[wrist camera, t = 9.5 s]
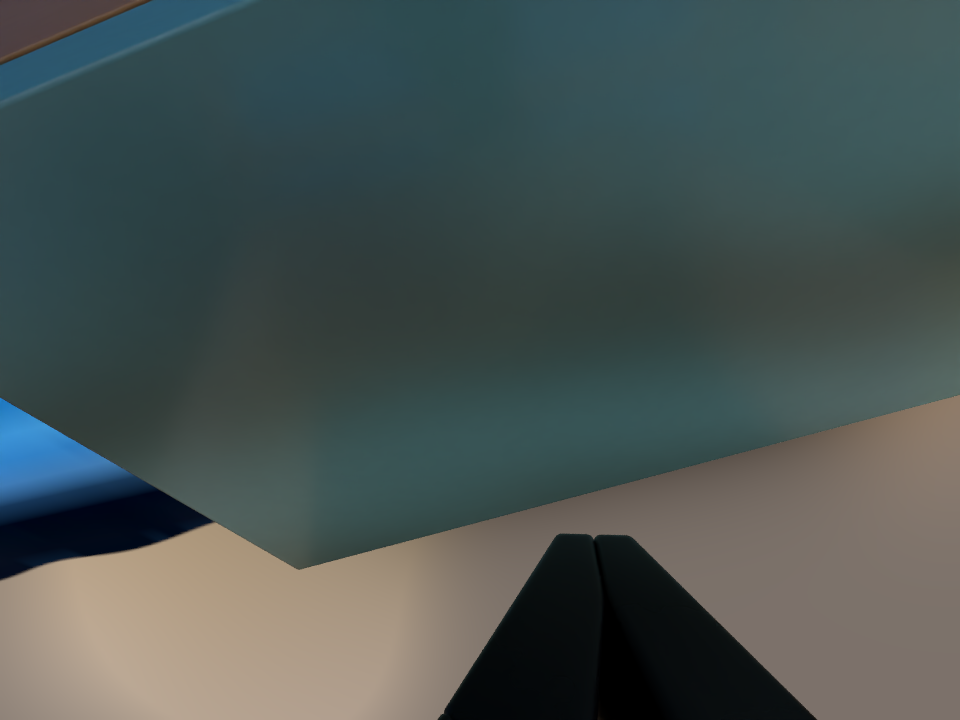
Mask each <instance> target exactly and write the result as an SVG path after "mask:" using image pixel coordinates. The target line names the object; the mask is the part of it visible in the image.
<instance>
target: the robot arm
mask: <svg viewBox="0 0 960 720" xmlns="http://www.w3.org/2000/svg"><path fill="white" fill-rule="evenodd" d="M438 720H817V719H816V718H815V717H814V716H813V715H812V714H810V712H809V711H808V710H807V709H806V708H805V707H804V706H803V705H802V704H801V703H800V702H799V701H798V700H797V699H796V698H795V697H794V696H793V695H792V694H791V693H790V692H788V691H787V689H786V688H784V687H783V686H782V685H781V684H780V683H779V682H778V681H777V680H776V679H775V678H774V677H773V676H772V675H771V674H770V673H769V672H768V671H767V670H766V669H765V668H764V667H763V666H762V665H761V664H760V663H759V662H758V661H757V660H756V659H755V658H754V657H753V656H752V655H751V654H750V653H749V652H748V651H747V650H746V649H745V648H744V647H743V646H742V645H741V644H740V643H739V642H738V641H737V640H736V639H735V638H734V637H732V635H731V634H730V633H729V632H728V631H727V630H726V629H724V627H722V626H721V624H720V623H718V622H717V621H716V620H715V619H714V618H713V617H712V616H711V615H710V614H709V613H708V612H707V611H706V610H705V609H704V608H703V607H702V606H701V605H700V604H699V603H698V602H697V601H696V600H695V599H694V598H693V597H692V596H691V595H690V594H689V593H688V592H687V591H686V590H685V589H684V588H683V587H682V586H681V585H680V584H679V583H678V582H677V581H676V580H675V579H674V578H673V577H672V576H671V575H670V574H669V573H668V572H667V571H666V570H664V568H663V567H662V566H661V565H660V564H658V562H657V561H656V560H654V559H653V557H651V556H650V555H649V554H648V553H647V552H646V551H645V550H644V549H643V548H642V547H641V546H640V545H639V544H638V543H637V542H636V541H635V540H634V539H633V538H632V537H630V536H627V535H598V536H596V537H595V539H593V538H592V537H591V536H590V535H587V534H559V535H557V536H556V537H555V538H554V540H553V541H552V543H551V545H550V546H549V547H548V549H547V551H546V552H545V554H544V555H543V557H542V558H541V560H540V562H539V563H538V565H537V566H536V568H535V569H534V571H533V572H532V574H531V576H530V577H529V579H528V580H527V582H526V584H525V585H524V587H523V588H522V590H521V591H520V593H519V595H518V596H517V597H516V599H515V601H514V602H513V604H512V605H511V607H510V608H509V610H508V611H507V613H506V615H505V616H504V618H503V619H502V621H501V623H500V624H499V626H498V627H497V629H496V630H495V632H494V634H493V635H492V636H491V638H490V640H489V641H488V643H487V645H486V646H485V647H484V649H483V650H482V652H481V654H480V655H479V657H478V658H477V660H476V661H475V663H474V664H473V666H472V668H471V669H470V671H469V673H468V674H467V675H466V677H465V679H464V680H463V682H462V683H461V685H460V687H459V688H458V690H457V691H456V693H455V694H454V696H453V697H452V699H451V700H450V702H449V703H448V705H447V707H446V708H445V710H444V714H442V715H441V716H440V717H439V718H438Z"/></svg>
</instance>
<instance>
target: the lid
mask: <svg viewBox="0 0 960 720" xmlns="http://www.w3.org/2000/svg"><path fill="white" fill-rule="evenodd" d="M957 395H960V0H152V1H150V2H148V3H145V4H143V5H141V6H138V7H136V8H134V9H131V10H129V11H126V12H124V13H122V14H119V15H117V16H115V17H112V18H110V19H108V20H105V21H103V22H101V23H98V24H96V25H94V26H91V27H89V28H87V29H84V30H82V31H80V32H77V33H75V34H73V35H70V36H68V37H65V38H63V39H61V40H58V41H56V42H54V43H51V44H49V45H47V46H44V47H42V48H40V49H37V50H35V51H33V52H30V53H28V54H26V55H23V56H21V57H19V58H16V59H14V60H11V61H9V62H7V63H4V64H2V65H0V398H2V399H4V400H5V401H7V402H9V403H11V404H12V405H14V406H16V407H17V408H19V409H21V410H23V411H24V412H26V413H28V414H30V415H31V416H33V417H35V418H36V419H38V420H40V421H42V422H43V423H45V424H47V425H49V426H50V427H52V428H54V429H55V430H57V431H59V432H61V433H62V434H64V435H66V436H68V437H69V438H71V439H73V440H75V441H76V442H78V443H80V444H81V445H83V446H85V447H87V448H88V449H90V450H92V451H94V452H95V453H97V454H99V455H100V456H102V457H104V458H106V459H107V460H109V461H111V462H113V463H114V464H116V465H118V466H119V467H121V468H123V469H125V470H126V471H128V472H130V473H132V474H133V475H135V476H137V477H139V478H140V479H142V480H144V481H145V482H147V483H149V484H151V485H152V486H154V487H156V488H158V489H159V490H161V491H163V492H164V493H166V494H168V495H170V496H171V497H173V498H175V499H177V500H178V501H180V502H182V503H183V504H185V505H187V506H189V507H190V508H192V509H194V510H196V511H197V512H199V513H201V514H203V515H204V516H206V517H208V518H209V519H211V520H213V521H215V522H216V523H218V524H220V525H222V526H223V527H225V528H227V529H228V530H230V531H232V532H234V533H235V534H237V535H239V536H241V537H242V538H244V539H246V540H247V541H249V542H251V543H253V544H254V545H256V546H258V547H260V548H261V549H263V550H265V551H267V552H268V553H270V554H272V555H273V556H275V557H277V558H279V559H280V560H282V561H284V562H286V563H287V564H289V565H291V566H293V567H294V568H296V569H299V570H300V569H304V568H307V567H311V566H315V565H319V564H323V563H326V562H330V561H333V560H338V559H341V558H345V557H349V556H353V555H357V554H360V553H364V552H368V551H372V550H375V549H379V548H383V547H386V546H391V545H394V544H398V543H402V542H406V541H409V540H413V539H417V538H420V537H425V536H428V535H432V534H436V533H440V532H443V531H447V530H451V529H454V528H458V527H462V526H466V525H470V524H473V523H477V522H481V521H485V520H489V519H492V518H496V517H500V516H504V515H508V514H511V513H515V512H519V511H523V510H527V509H530V508H534V507H538V506H542V505H545V504H549V503H553V502H557V501H560V500H564V499H568V498H571V497H576V496H579V495H583V494H587V493H591V492H594V491H598V490H602V489H606V488H609V487H613V486H617V485H621V484H625V483H629V482H632V481H636V480H640V479H644V478H648V477H651V476H655V475H659V474H663V473H666V472H670V471H674V470H678V469H681V468H685V467H689V466H693V465H697V464H700V463H704V462H708V461H711V460H715V459H719V458H723V457H727V456H730V455H734V454H738V453H742V452H746V451H749V450H753V449H757V448H761V447H765V446H768V445H772V444H776V443H780V442H784V441H787V440H791V439H795V438H799V437H802V436H806V435H810V434H814V433H818V432H821V431H825V430H829V429H833V428H836V427H840V426H844V425H848V424H851V423H855V422H859V421H863V420H867V419H870V418H874V417H878V416H882V415H886V414H889V413H893V412H897V411H901V410H904V409H908V408H912V407H915V406H920V405H923V404H927V403H931V402H935V401H938V400H942V399H946V398H950V397H954V396H957Z"/></svg>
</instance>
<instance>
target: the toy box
mask: <svg viewBox="0 0 960 720" xmlns="http://www.w3.org/2000/svg"><path fill="white" fill-rule="evenodd" d="M150 1H152V0H0V65H2V64H4V63H7V62H9V61H11V60H14V59H16V58H19V57H21V56H23V55H26V54H28V53H30V52H33V51H35V50H37V49H40V48H42V47H44V46H47V45H49V44H51V43H54V42H56V41H58V40H61V39H63V38H65V37H68V36H70V35H73V34H75V33H77V32H80V31H82V30H84V29H87V28H89V27H91V26H94V25H96V24H98V23H101V22H103V21H105V20H108V19H110V18H112V17H115V16H117V15H119V14H122V13H124V12H126V11H129V10H131V9H134V8H136V7H138V6H141V5H143V4H145V3H148V2H150Z"/></svg>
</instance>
